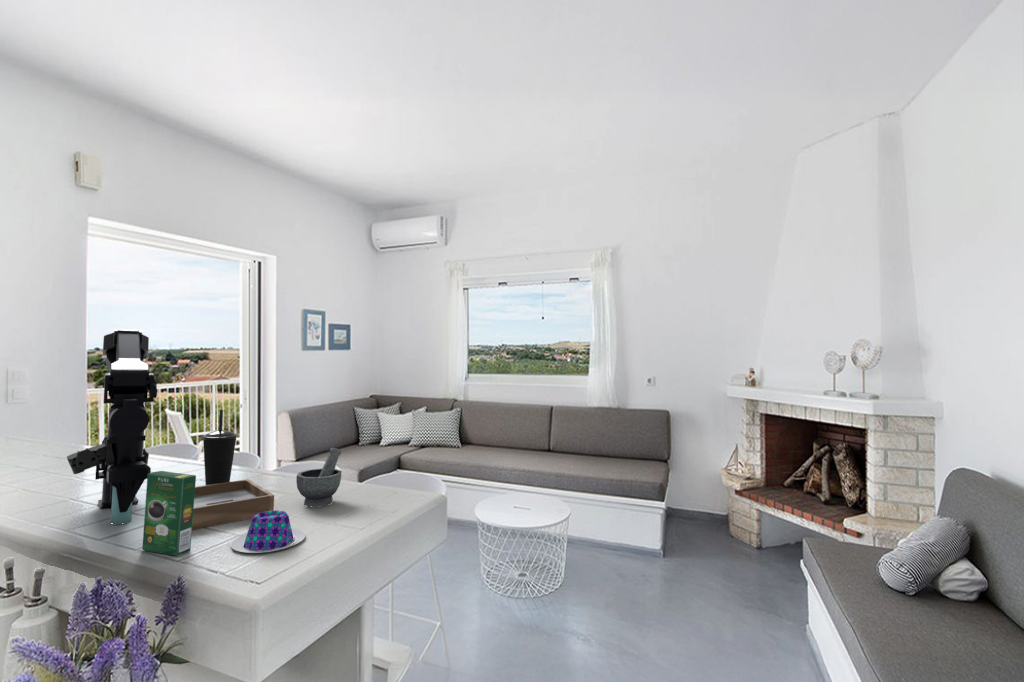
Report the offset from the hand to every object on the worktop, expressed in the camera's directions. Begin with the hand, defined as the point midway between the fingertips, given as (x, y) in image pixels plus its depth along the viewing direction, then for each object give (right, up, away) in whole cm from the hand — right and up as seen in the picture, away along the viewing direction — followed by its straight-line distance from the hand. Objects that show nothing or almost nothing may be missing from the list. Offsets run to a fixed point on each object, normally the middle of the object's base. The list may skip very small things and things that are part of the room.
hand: (121, 509), depth 95 cm
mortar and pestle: (+33, -4, +16) cm, 37 cm away
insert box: (+15, -3, +7) cm, 17 cm away
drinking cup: (+4, -4, +24) cm, 25 cm away
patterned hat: (+34, -3, -9) cm, 35 cm away
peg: (0, -3, 0) cm, 2 cm away
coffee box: (+19, -3, -14) cm, 24 cm away
